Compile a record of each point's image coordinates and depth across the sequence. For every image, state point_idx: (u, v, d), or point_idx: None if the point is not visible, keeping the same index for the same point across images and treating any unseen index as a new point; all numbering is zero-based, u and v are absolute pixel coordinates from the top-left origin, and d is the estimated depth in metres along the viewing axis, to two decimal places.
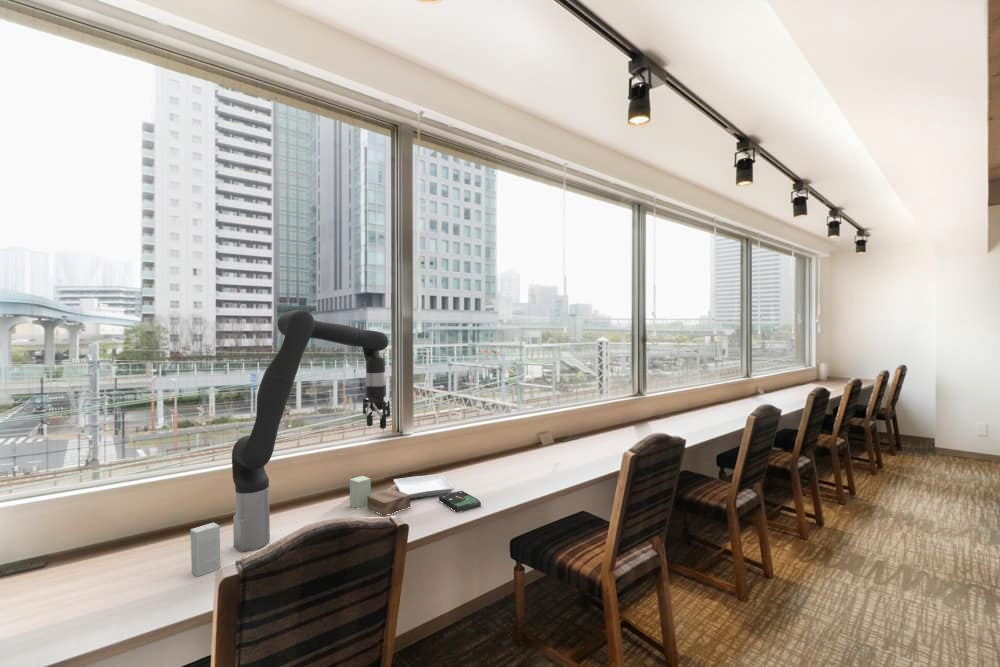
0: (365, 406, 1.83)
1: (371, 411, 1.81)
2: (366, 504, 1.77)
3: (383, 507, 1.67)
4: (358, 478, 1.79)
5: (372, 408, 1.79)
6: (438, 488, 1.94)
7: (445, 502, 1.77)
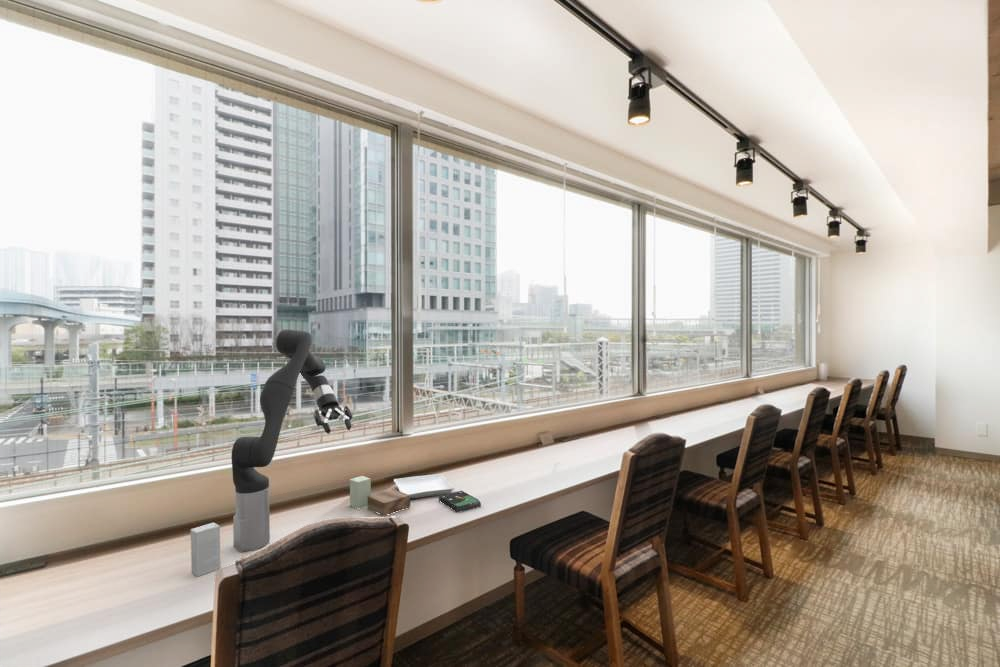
0: None
1: None
2: (366, 504, 1.77)
3: (383, 507, 1.67)
4: (358, 478, 1.79)
5: (332, 414, 1.87)
6: (438, 488, 1.94)
7: (445, 502, 1.77)
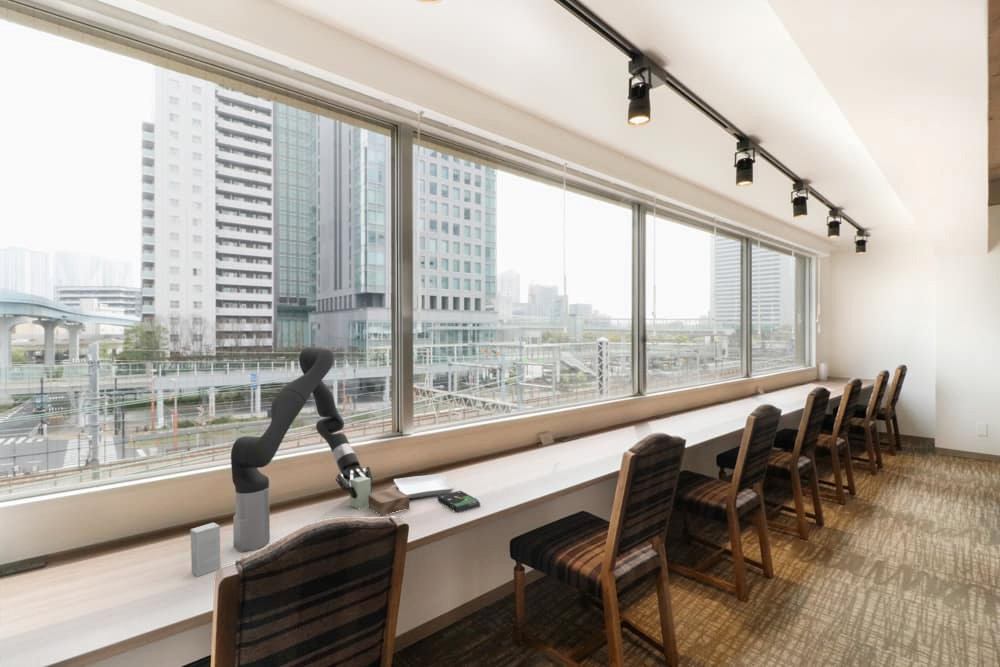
0: None
1: (351, 482, 1.78)
2: (366, 504, 1.77)
3: (380, 507, 1.67)
4: (358, 478, 1.79)
5: (354, 475, 1.80)
6: (438, 488, 1.94)
7: (444, 502, 1.77)
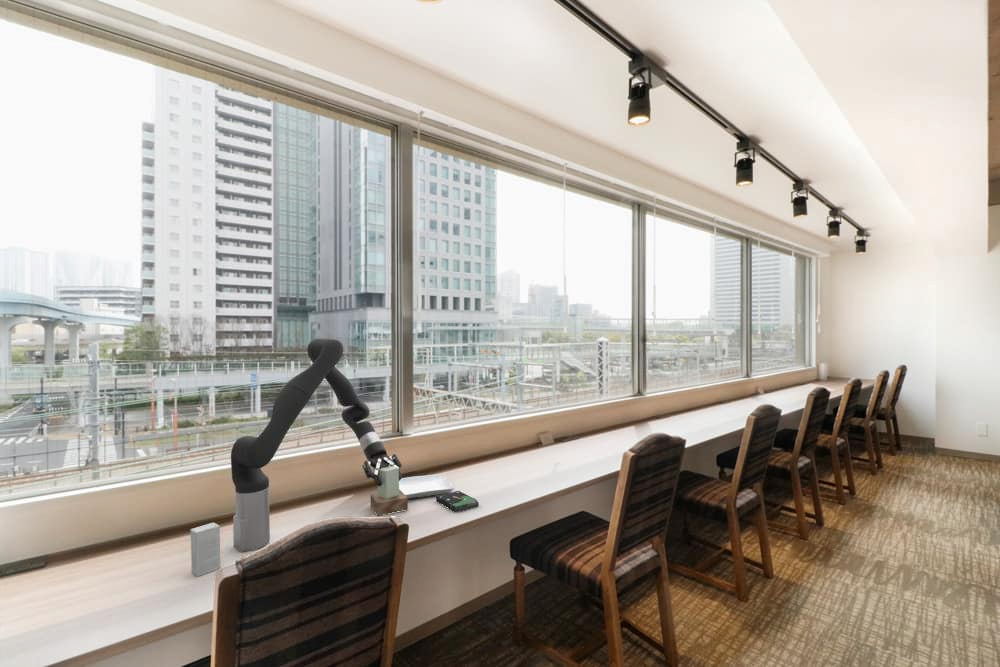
0: None
1: None
2: (394, 494, 1.73)
3: (376, 507, 1.68)
4: (385, 468, 1.75)
5: (381, 464, 1.76)
6: (438, 488, 1.94)
7: (442, 502, 1.77)
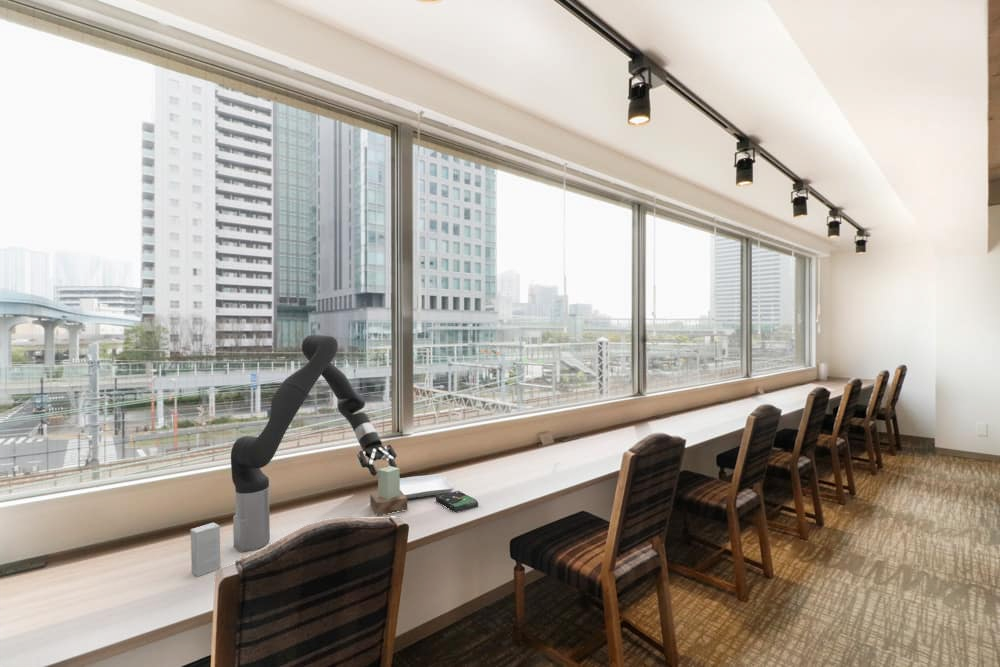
0: None
1: None
2: (395, 494, 1.73)
3: (376, 507, 1.68)
4: (386, 468, 1.75)
5: (376, 454, 1.78)
6: (438, 488, 1.94)
7: (442, 502, 1.77)
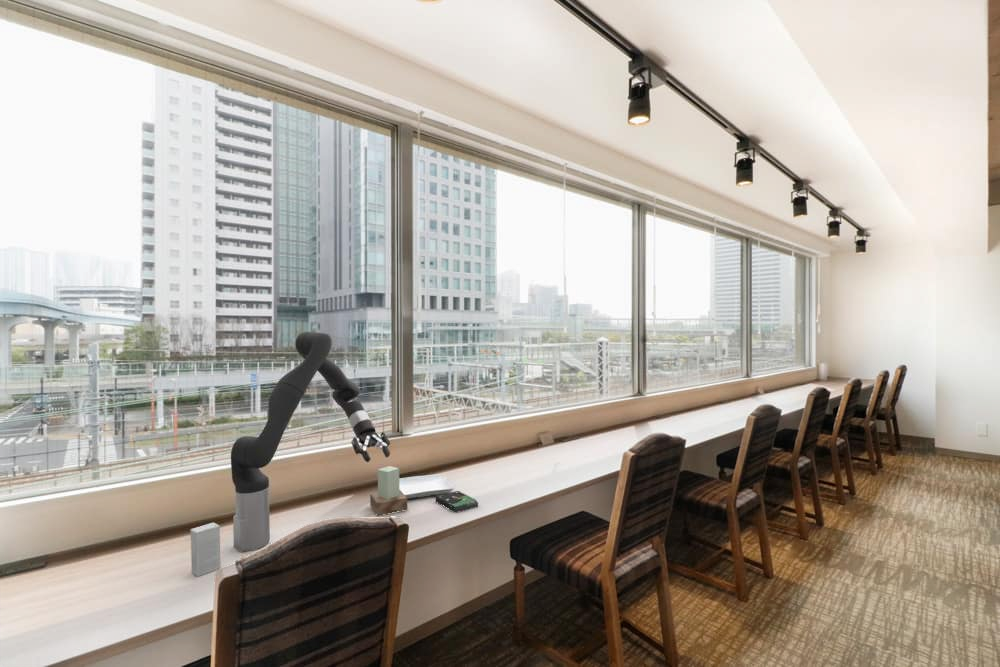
0: None
1: (365, 447, 1.79)
2: (395, 494, 1.74)
3: (376, 507, 1.68)
4: (386, 468, 1.75)
5: (370, 441, 1.81)
6: (438, 488, 1.94)
7: (442, 502, 1.77)
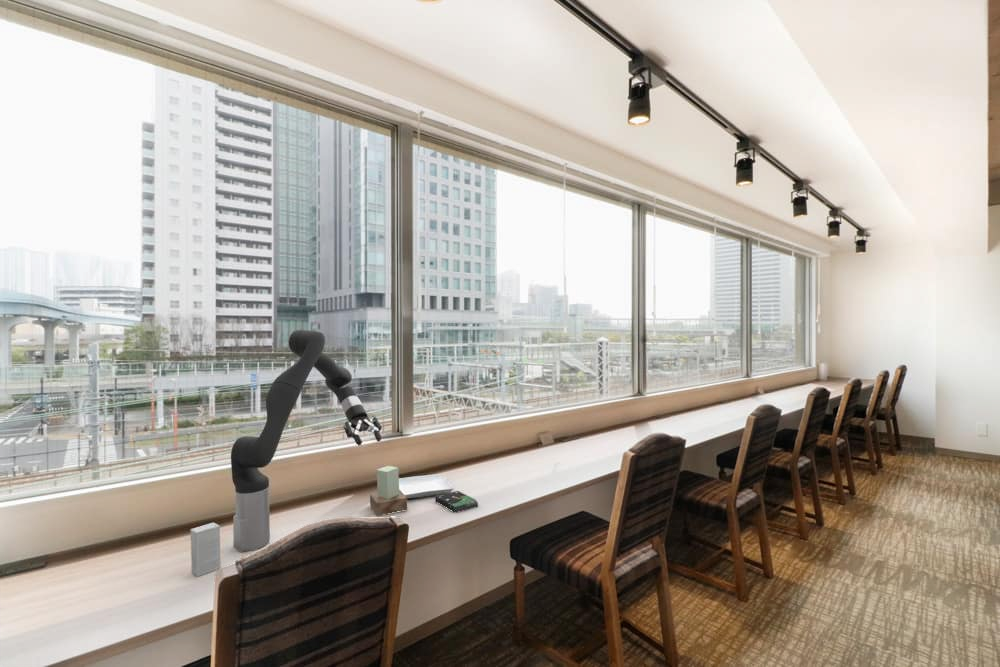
0: None
1: (357, 431, 1.83)
2: (395, 494, 1.74)
3: (376, 507, 1.68)
4: (385, 468, 1.75)
5: (362, 426, 1.84)
6: (438, 488, 1.94)
7: (442, 502, 1.77)
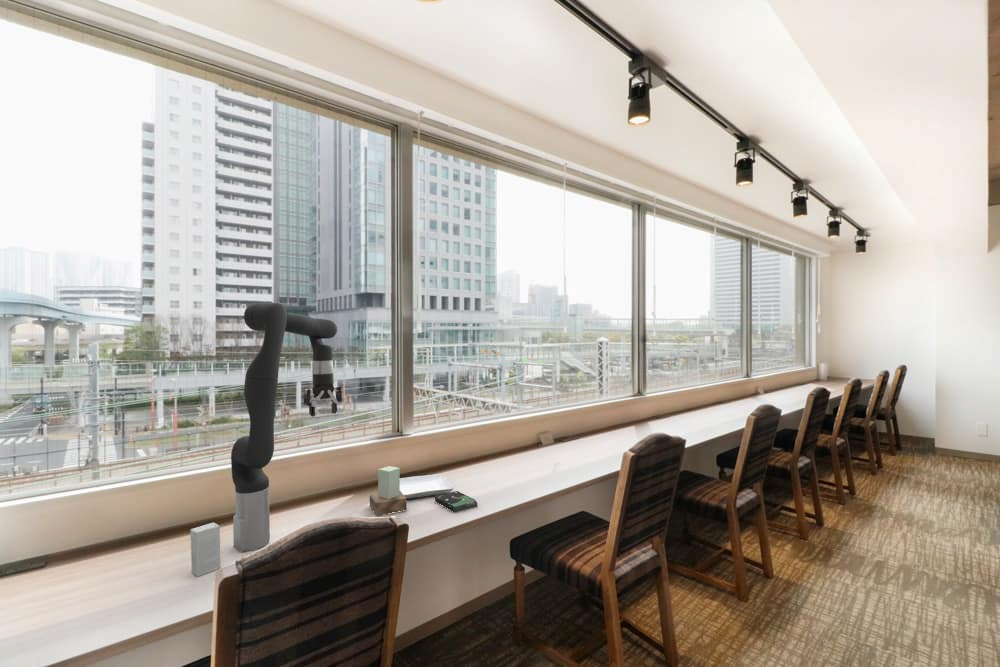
0: None
1: None
2: (395, 494, 1.73)
3: (375, 507, 1.67)
4: (386, 468, 1.75)
5: (322, 396, 1.79)
6: (438, 488, 1.94)
7: (441, 503, 1.76)
